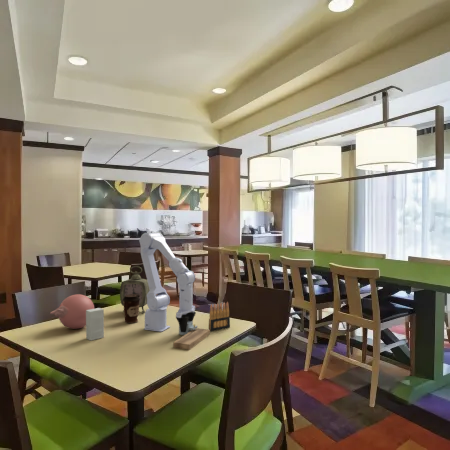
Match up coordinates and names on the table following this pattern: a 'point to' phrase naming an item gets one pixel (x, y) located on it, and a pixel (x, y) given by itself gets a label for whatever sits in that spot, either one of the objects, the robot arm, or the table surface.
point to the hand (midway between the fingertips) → (185, 330)
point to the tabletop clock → (135, 288)
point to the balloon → (74, 311)
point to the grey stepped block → (188, 328)
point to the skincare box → (94, 324)
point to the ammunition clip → (219, 317)
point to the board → (191, 338)
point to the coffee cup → (131, 308)
